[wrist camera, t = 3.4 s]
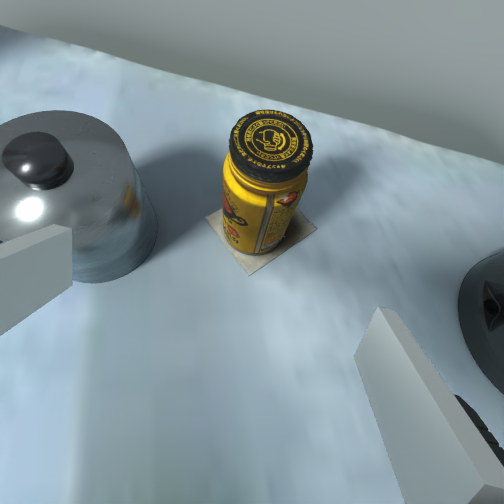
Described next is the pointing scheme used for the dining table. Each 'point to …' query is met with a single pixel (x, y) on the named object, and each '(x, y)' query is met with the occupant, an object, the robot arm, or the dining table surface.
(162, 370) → the dining table surface
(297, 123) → the condiment
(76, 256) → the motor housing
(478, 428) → the robot arm
